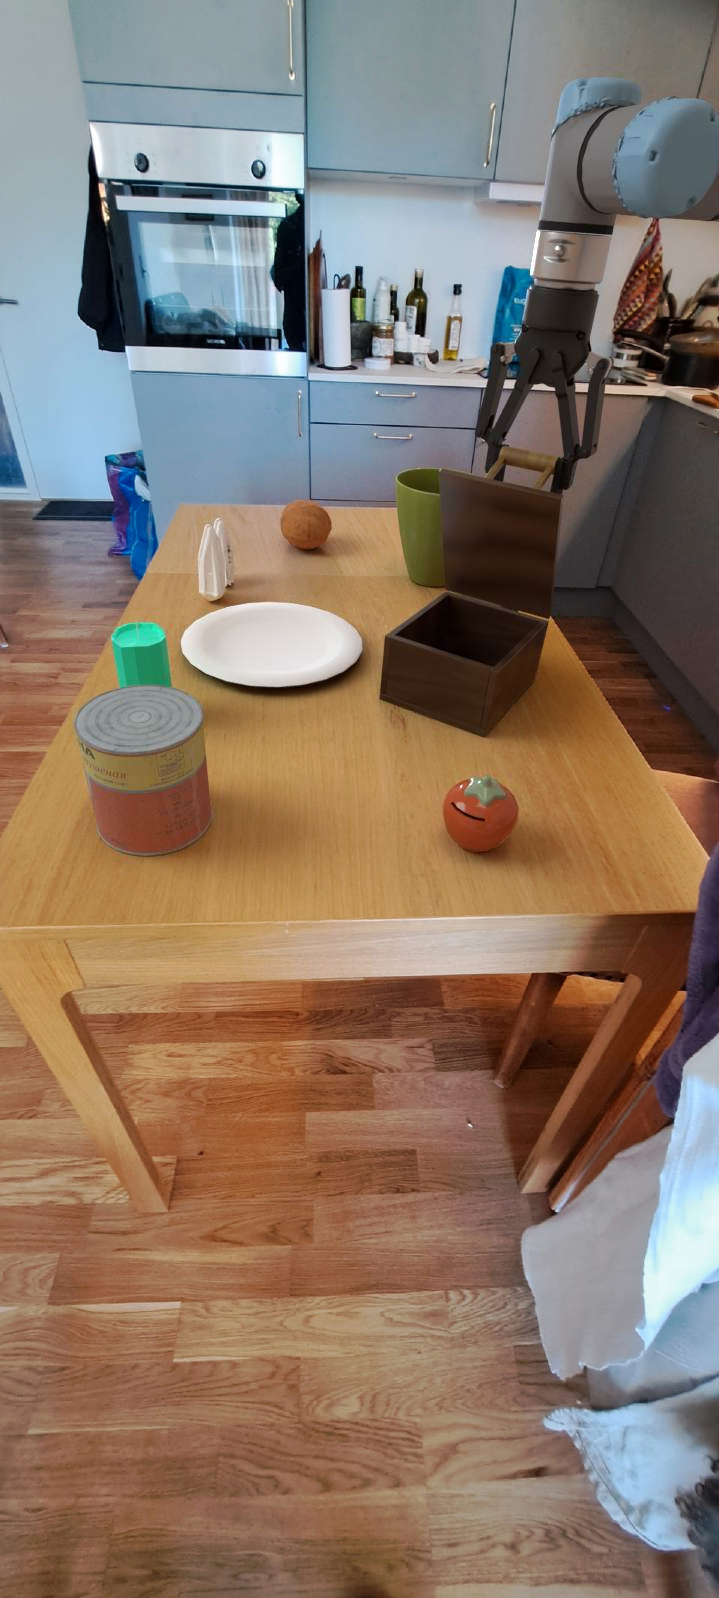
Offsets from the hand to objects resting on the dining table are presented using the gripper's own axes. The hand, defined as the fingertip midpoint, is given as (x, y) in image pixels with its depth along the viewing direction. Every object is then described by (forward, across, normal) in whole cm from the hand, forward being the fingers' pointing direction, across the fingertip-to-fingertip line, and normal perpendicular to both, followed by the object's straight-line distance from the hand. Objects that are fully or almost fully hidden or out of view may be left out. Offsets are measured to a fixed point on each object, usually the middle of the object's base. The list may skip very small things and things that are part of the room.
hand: (521, 508), depth 92 cm
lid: (+3, 0, -7) cm, 7 cm away
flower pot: (+21, -20, +20) cm, 35 cm away
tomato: (+21, +14, -37) cm, 45 cm away
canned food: (+21, -14, -53) cm, 59 cm away
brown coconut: (+21, -45, +19) cm, 53 cm away
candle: (+21, -28, -39) cm, 53 cm away
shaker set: (+21, -45, -7) cm, 50 cm away
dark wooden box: (+21, 0, -11) cm, 24 cm away
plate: (+21, -26, -17) cm, 38 cm away
